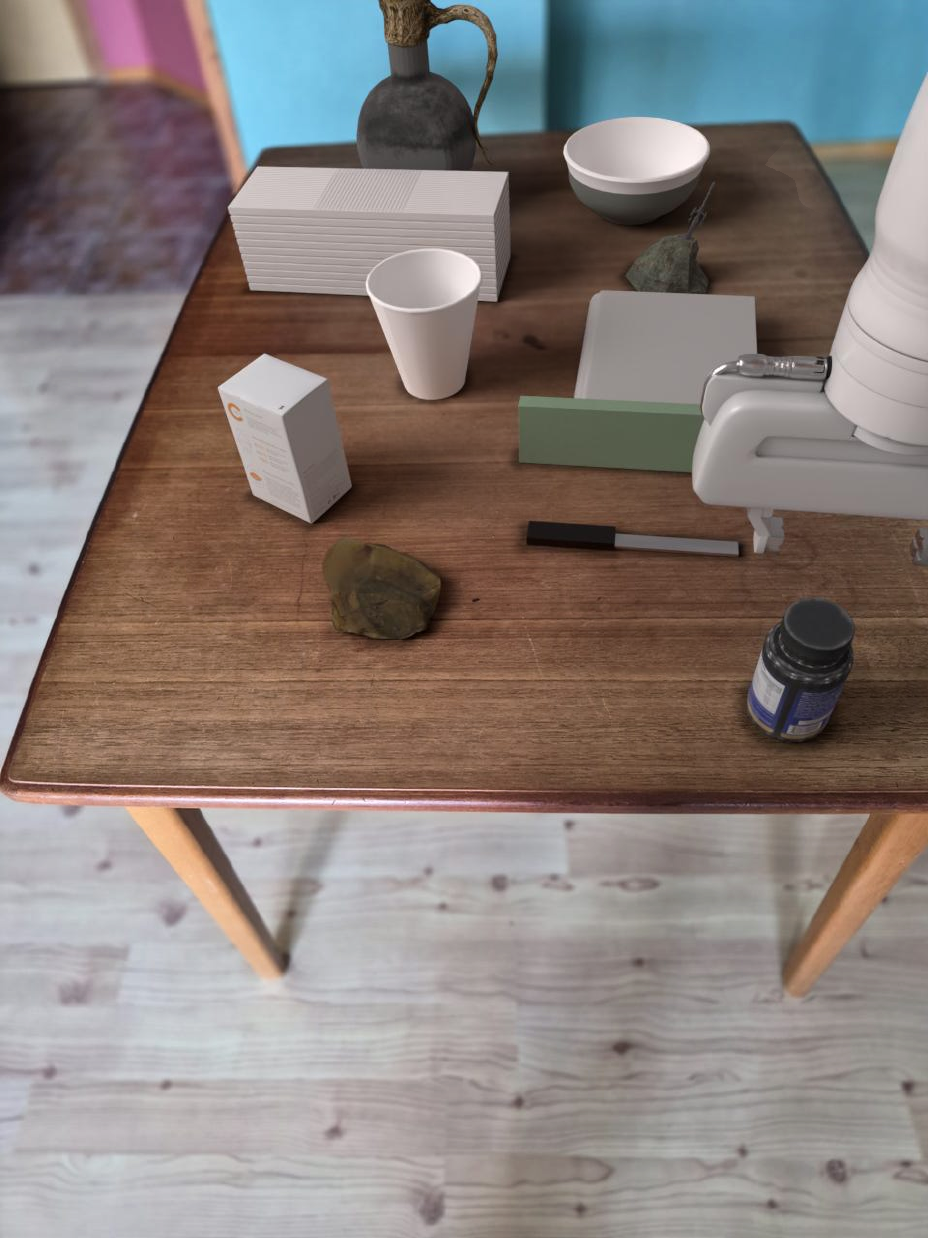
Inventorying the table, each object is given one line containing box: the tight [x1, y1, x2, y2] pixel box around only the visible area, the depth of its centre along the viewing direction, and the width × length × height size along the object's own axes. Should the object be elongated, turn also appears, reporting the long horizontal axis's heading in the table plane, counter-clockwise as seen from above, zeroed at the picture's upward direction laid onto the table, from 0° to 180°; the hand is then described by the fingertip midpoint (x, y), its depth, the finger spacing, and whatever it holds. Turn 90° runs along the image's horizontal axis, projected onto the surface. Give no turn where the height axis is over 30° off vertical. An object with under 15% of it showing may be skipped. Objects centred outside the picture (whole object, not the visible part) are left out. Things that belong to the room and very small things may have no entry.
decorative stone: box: [321, 536, 442, 640], centre depth 77 cm, size 10×9×4 cm
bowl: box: [563, 116, 711, 226], centre depth 117 cm, size 19×19×8 cm
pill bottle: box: [745, 597, 856, 743], centre depth 65 cm, size 6×6×11 cm
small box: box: [217, 353, 353, 525], centre depth 83 cm, size 8×6×13 cm
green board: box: [517, 395, 704, 473], centre depth 85 cm, size 22×2×7 cm, turn 81°
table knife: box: [525, 520, 740, 558], centre depth 81 cm, size 19×2×1 cm, turn 81°
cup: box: [366, 248, 483, 401], centre depth 94 cm, size 12×12×12 cm
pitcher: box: [356, 0, 499, 171], centre depth 112 cm, size 11×19×30 cm, turn 76°
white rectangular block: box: [573, 289, 758, 404], centre depth 94 cm, size 18×4×24 cm
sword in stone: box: [625, 181, 717, 294], centre depth 104 cm, size 10×8×12 cm
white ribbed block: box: [227, 165, 512, 303], centre depth 110 cm, size 32×11×11 cm, turn 79°
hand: (843, 552), depth 55 cm, fingers open, 8 cm apart
